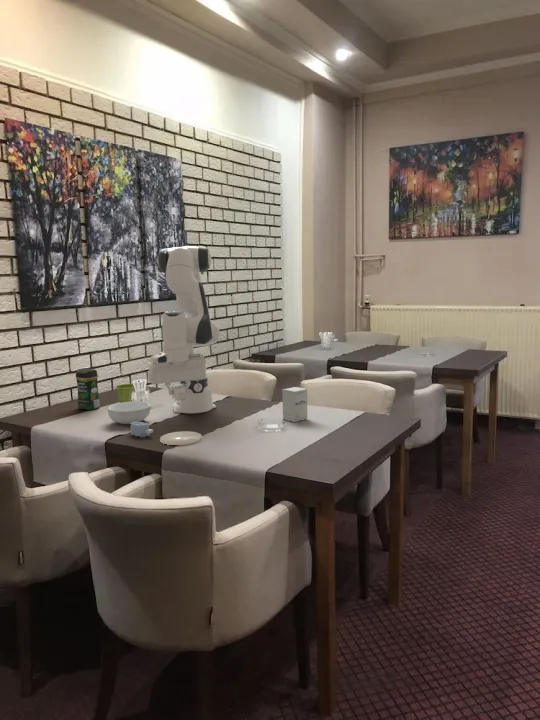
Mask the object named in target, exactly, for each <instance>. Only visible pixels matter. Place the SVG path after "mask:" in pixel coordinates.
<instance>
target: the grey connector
mask: <svg viewBox="0 0 540 720" xmlns="http://www.w3.org/2000/svg"><path fill="white" fill-rule="evenodd" d="M170 388H171V389H173V390H174V395H171V398H172V399H173V400H174V399H175V400H177V401H178V400H185V399H186V392H185V386H183V385H181V384H180V383H176V384H170ZM175 400H174V401H175Z"/></svg>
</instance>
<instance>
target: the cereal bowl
mask: <svg viewBox="0 0 540 720" xmlns="http://www.w3.org/2000/svg"><path fill="white" fill-rule="evenodd" d="M150 411H151V404H150V403H149V402H146V401H136V400H135V401H134V400H133V402H123V403H120V402H119V403H114V404H112V405H109V406H108V407H107V413H108V417H109V418H110V420H112V421H113V422H115V423H118V424H120V423H121V424H120V425H122V424H130V423H132V422H142V421H144V420H146V418H147V417H149V415H150Z"/></svg>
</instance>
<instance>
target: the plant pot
mask: <svg viewBox="0 0 540 720" xmlns="http://www.w3.org/2000/svg"><path fill="white" fill-rule="evenodd" d="M133 384H134V383H124V384H118V385H115V386H114V388H115V389H116V392H117V397H118V400H119V403H123V402H132V400H131V393H132V391H133Z"/></svg>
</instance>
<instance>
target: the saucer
mask: <svg viewBox="0 0 540 720" xmlns="http://www.w3.org/2000/svg"><path fill="white" fill-rule="evenodd" d="M201 441H202V434H201V433H199V432H197V431H187V430H186V431H185V430H184V431H173V432H169V433H165V434H164V435H161V436H160V438H159V442H161V444H162V443H163V444H162V445H164V444H167V445H166V446H169V445H183V446H189V445H193V444H195V443H198V442H201Z"/></svg>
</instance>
